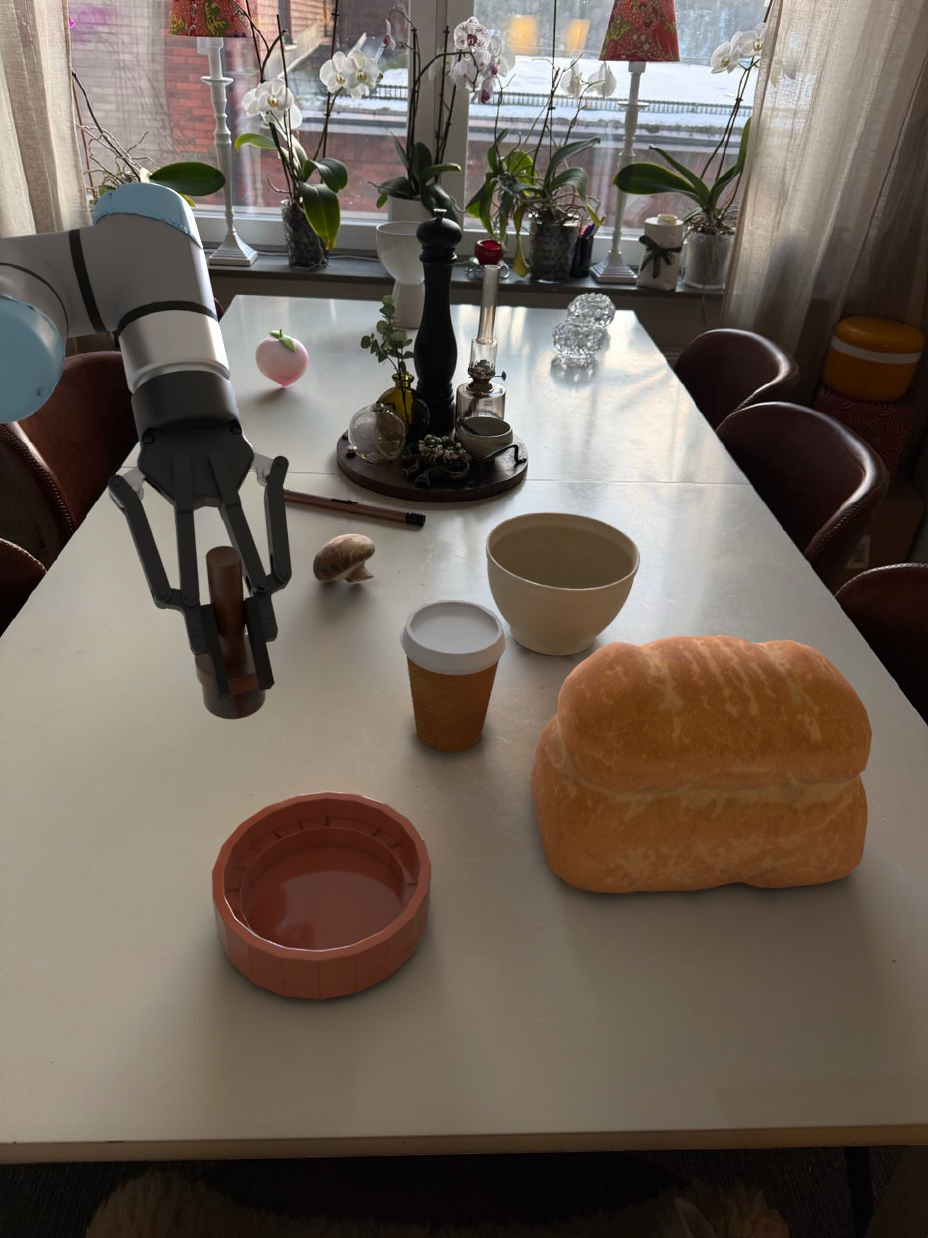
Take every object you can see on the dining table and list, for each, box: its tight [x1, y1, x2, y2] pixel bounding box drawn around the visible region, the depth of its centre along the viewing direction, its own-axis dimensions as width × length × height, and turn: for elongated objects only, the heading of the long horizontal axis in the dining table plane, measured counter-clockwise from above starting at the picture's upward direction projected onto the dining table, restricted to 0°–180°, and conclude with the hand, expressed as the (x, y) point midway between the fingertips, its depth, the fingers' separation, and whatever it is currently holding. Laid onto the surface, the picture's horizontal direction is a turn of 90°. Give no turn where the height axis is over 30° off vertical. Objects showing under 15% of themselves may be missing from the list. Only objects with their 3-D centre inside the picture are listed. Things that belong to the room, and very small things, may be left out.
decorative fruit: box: [254, 328, 310, 388], centre depth 161 cm, size 9×8×10 cm
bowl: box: [211, 791, 432, 1000], centre depth 69 cm, size 16×16×5 cm
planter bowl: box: [485, 511, 641, 657], centre depth 101 cm, size 16×16×11 cm
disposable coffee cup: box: [399, 599, 508, 753], centre depth 86 cm, size 10×10×12 cm
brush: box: [194, 545, 267, 720], centre depth 70 cm, size 5×5×14 cm
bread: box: [530, 635, 873, 894], centre depth 75 cm, size 16×26×17 cm, turn 95°
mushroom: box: [312, 533, 376, 584], centre depth 110 cm, size 8×8×6 cm
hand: (245, 691), depth 67 cm, fingers closed on brush, 2 cm apart
